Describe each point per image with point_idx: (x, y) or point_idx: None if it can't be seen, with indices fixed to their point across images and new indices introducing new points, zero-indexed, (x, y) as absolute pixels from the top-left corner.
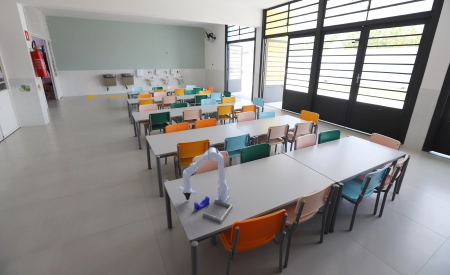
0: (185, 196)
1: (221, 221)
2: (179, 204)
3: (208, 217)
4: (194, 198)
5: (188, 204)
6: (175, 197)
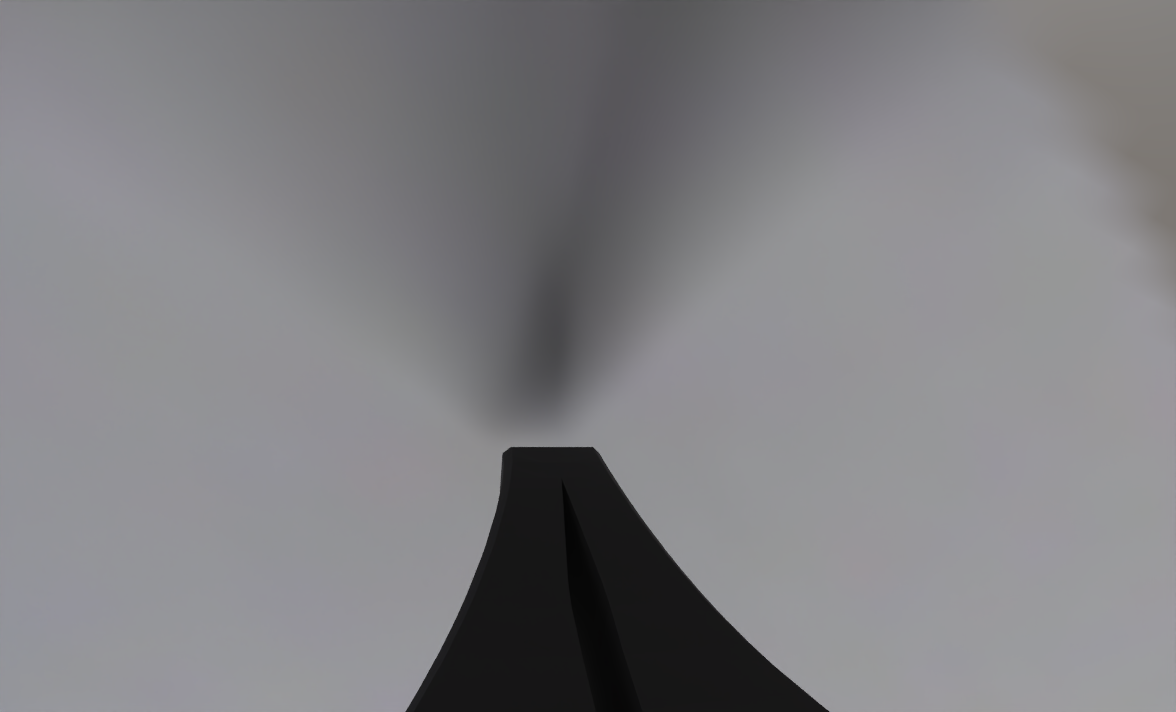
0: (678, 602)
1: None
2: (824, 36)
3: None
4: (378, 647)
5: (351, 243)
6: (1167, 396)
